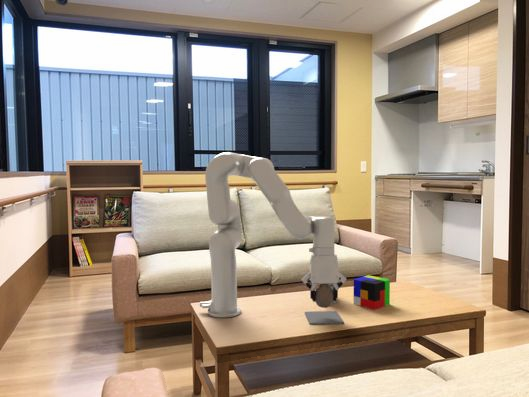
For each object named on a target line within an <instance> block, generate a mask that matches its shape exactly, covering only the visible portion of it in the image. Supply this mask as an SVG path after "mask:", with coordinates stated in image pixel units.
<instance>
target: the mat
mask: <svg viewBox="0 0 529 397" xmlns="http://www.w3.org/2000/svg"><path fill="white" fill-rule="evenodd" d="M304 314H305V318H306V320H307V322H308V324H309V325H310V326H315V325H316V326H318V325H319V326H320V325H321V326H322V325H344V324H345V321H344V319H342V316H341V315H340V313H338V311H337V310H320V311H318V310H317V311H316V310H315V311H304Z"/></svg>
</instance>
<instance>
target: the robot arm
mask: <svg viewBox="0 0 529 397" xmlns="http://www.w3.org/2000/svg"><path fill="white" fill-rule="evenodd" d="M204 173H205V175H204V177H205V187H206V201H207V209H208V210H207V211H208V217H209V220H210V222H211V223H212V224H213V225H216V226H217V230H216V231H214V232H213V233H212V234H211V236H210V238H209V242H208V249H209V256H210V274H211V275H210V277H211V278H210V279H211V281H210V282H211V289H210V291H211V299H210V300H208V301H200V302H199V307H200V308H202V309H207V314H208V316H211V317H214V318H226V319H227V318H232V317H236V316H238V315H240V314H241V313H242V308H241V307H240V306H239V305H238V284H237V283H238V280H237V278H238V277H237V275H238V271H237V270H238V269H237V255H236V249H237V248H239V247H240V245H241V244H242V241H243V233H242V231H243V230H242V220H241V213H240V209H239V205H238V204H237V202H235V200H233V199H231V193H230V192H231V191H230V190H231V189H230V185H229V180H228V179H229V177H230V176H236V177H243V178H248V179H251V180H252V181H253V183H254V184H255V185H256V186H257V187H258V189H259V190H260V191H261V193H262V194H263V196H264V197H265V198H266V200H267V201H268V202H269V204H270V206H271V208H272V210H273V211H274V212H275V215H276V216H277V218H278V219H279V221H280V222H281V223H282V226H284V228H285V229H286V230H287V231H288V233H289V234H290V236H292V237H293V238H294V239H297V240H304V239H306V238H308V237H309V236H312V247H310V248H308V251H309V253H312V254H311V256H310V262H309V271H308V273H305V275H304V276H303V277H302V278H301V281H302V283H303V284H304V285H305V286H306V287H307V288H308V289H309V290H310V292H309V293H310V294H309V295H310V299H311V300H312V302H313V303H316V302H315V290H316V289H315V288H316V286H317V285H320V284H333V286H334V287H333V289H332V290H333V294H334V301H336V298H337V299H338V297H339V293H338V292H339V289H340V288H341V287H342V286H343V285H344V284H345V282H346V281H347V277H346V276H344V275H343V274H342V273H341V272H340V271H339V270H340V268H339V267H340V266H339V260H338V259H339V258H338V255H337V254H335V220H334V219H335V218H333V217H331V216H326V215H325V216H323V215H321V216H320V215H319V216H311V215H305V214H304V215H303V213H302V212H301V211H300V209H299V208H298V207H297V205H296V204H295V202H294V200H293V198H292V195H291V190H290V189H289V186H288V185H286V183H285V182H284V181H283V179H282V178H281V177H280V176H279V174H278V173H277V171H276V170H275V166H274V164H273V162H272V161H271V160H270V159H269V158H265V157H259V156H251V155H246V154H242V153H236V152H231V151H226V152H221V153H219V154H217V155H215V156H214V157H213V158H211V160H210V161H209V162H208V163H207V166H206V169H205V172H204ZM308 280H309V281H310V282H311V283H310V282H309V281H308Z"/></svg>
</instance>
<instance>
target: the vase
mask: <svg viewBox="0 0 529 397" xmlns="http://www.w3.org/2000/svg"><path fill="white" fill-rule="evenodd" d="M315 288H316V289H314V290H315V302H314V303H315V304H316V305H317V306H318V307H319V308H323V309H325V308H330V307H331V306H332V305H333V304H334V303H333V300H334V294H333V290H332V289H331V287H330V286H329V285H328V284H318V286H317V287H315Z"/></svg>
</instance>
